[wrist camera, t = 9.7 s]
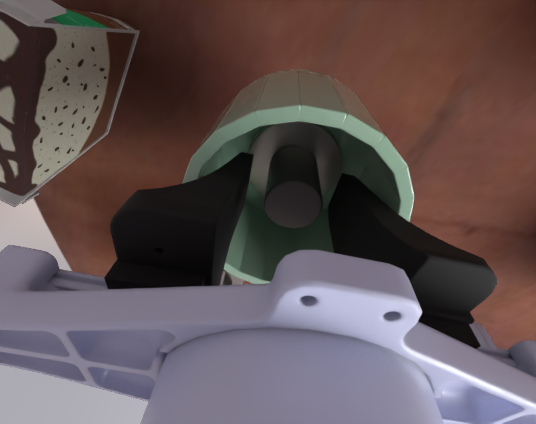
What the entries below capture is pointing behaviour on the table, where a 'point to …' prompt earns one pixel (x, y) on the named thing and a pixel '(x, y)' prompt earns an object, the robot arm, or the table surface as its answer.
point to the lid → (294, 170)
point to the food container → (55, 88)
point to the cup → (312, 111)
